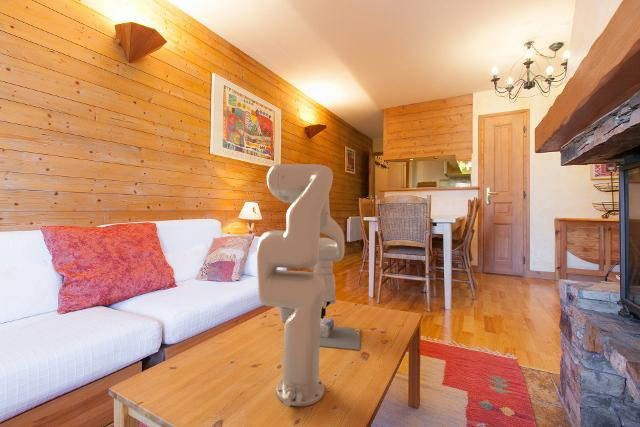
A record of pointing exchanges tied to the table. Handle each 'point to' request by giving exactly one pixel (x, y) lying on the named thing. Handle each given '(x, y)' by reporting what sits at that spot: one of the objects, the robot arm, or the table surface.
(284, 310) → the house plant
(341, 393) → the table surface
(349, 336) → the mat
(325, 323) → the medicine box
